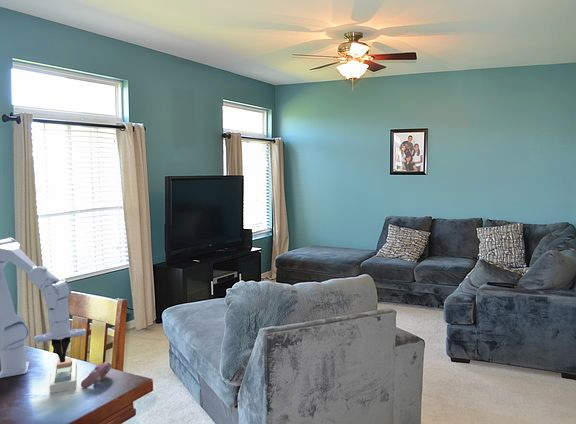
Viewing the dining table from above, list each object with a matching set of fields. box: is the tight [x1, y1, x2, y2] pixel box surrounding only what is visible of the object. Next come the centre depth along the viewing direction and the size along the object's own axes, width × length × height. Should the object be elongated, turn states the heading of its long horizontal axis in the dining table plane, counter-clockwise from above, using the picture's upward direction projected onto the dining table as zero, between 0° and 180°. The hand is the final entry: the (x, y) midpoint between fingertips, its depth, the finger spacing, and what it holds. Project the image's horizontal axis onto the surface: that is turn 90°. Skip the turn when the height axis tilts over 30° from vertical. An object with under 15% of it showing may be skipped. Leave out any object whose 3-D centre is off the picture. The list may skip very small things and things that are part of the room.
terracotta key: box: [56, 357, 72, 368], centre depth 161 cm, size 4×4×2 cm
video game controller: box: [80, 361, 113, 389], centre depth 154 cm, size 10×5×7 cm, turn 169°
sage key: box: [57, 367, 71, 373], centre depth 156 cm, size 4×4×2 cm
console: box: [49, 358, 78, 394], centre depth 157 cm, size 18×7×2 cm, turn 22°
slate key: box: [55, 371, 70, 383], centre depth 151 cm, size 4×4×2 cm
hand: (62, 361), depth 156 cm, fingers closed
